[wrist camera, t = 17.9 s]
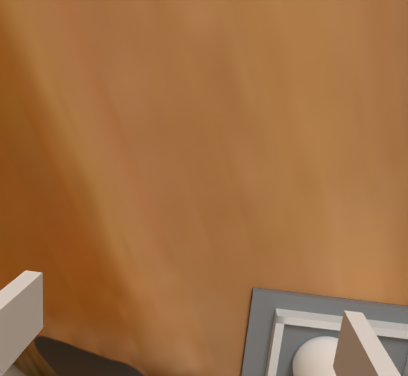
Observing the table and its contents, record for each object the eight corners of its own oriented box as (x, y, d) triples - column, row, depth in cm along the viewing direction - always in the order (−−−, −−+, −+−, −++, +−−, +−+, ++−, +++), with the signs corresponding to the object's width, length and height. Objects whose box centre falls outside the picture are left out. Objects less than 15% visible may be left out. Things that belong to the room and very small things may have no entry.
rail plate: (449, 310, 45) (461, 322, 43) (416, 431, 49) (425, 447, 47) (252, 287, 46) (254, 297, 44) (236, 407, 50) (236, 422, 48)
